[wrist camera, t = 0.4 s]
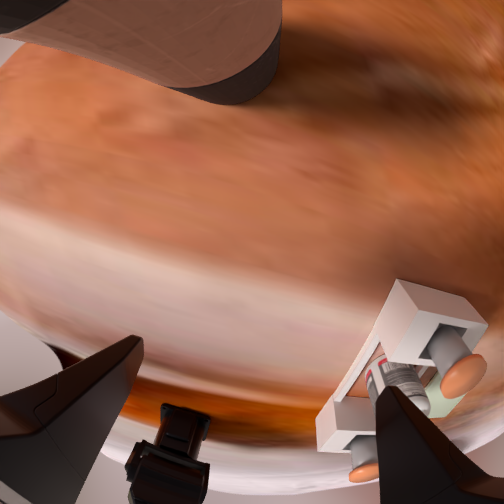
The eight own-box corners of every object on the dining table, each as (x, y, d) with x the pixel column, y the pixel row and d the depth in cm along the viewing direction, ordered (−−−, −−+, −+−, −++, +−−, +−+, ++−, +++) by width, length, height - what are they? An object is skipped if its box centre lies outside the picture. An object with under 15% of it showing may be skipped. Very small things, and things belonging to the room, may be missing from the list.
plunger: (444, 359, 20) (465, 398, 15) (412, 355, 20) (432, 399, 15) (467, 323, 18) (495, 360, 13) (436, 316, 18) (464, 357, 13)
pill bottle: (387, 389, 27) (407, 458, 18) (353, 377, 27) (369, 454, 18) (419, 357, 25) (450, 426, 16) (387, 343, 25) (417, 420, 16)
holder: (377, 422, 30) (383, 452, 25) (315, 418, 30) (317, 451, 25) (464, 297, 22) (488, 325, 17) (396, 278, 22) (418, 309, 17)
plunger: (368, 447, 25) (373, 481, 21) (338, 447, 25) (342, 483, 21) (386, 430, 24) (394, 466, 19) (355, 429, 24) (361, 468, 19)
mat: (444, 415, 29) (445, 417, 29) (400, 416, 29) (401, 418, 29) (480, 371, 26) (481, 373, 25) (438, 369, 26) (439, 372, 25)
